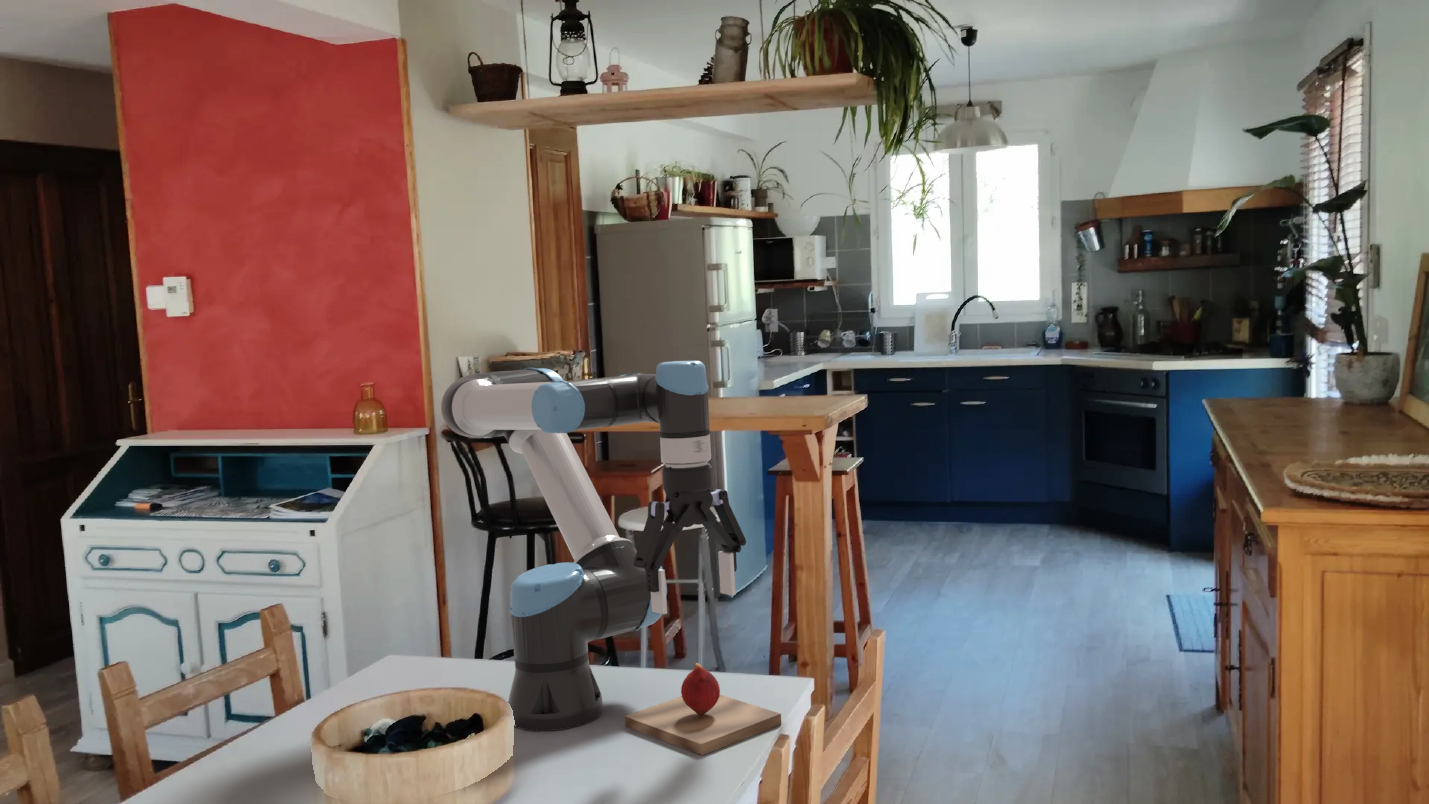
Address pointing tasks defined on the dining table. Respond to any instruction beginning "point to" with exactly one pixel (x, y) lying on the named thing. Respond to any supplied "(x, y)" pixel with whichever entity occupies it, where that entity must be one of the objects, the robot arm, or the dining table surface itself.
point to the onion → (700, 690)
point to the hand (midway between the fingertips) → (694, 603)
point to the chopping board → (702, 723)
